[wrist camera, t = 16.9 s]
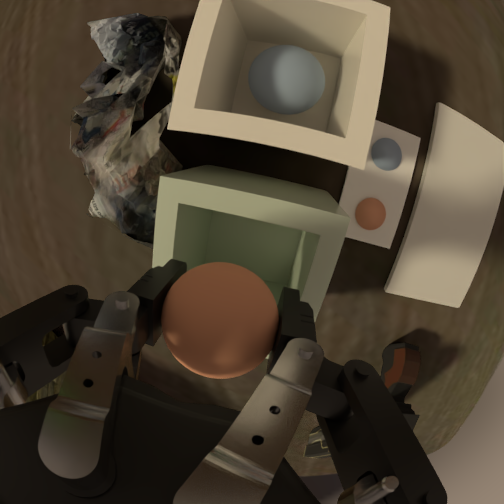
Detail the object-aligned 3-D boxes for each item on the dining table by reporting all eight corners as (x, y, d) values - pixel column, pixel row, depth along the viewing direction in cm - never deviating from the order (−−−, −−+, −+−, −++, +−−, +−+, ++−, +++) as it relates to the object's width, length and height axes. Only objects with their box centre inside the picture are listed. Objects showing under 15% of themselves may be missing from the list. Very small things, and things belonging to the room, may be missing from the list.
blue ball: (259, 53, 15) (253, 27, 11) (324, 67, 15) (337, 44, 11) (245, 111, 17) (235, 99, 13) (312, 126, 17) (323, 117, 13)
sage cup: (207, 164, 19) (160, 175, 12) (326, 190, 19) (350, 217, 12) (192, 271, 23) (151, 327, 15) (296, 296, 22) (297, 364, 15)
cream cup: (237, 29, 15) (209, -24, 8) (355, 53, 15) (390, 7, 7) (213, 135, 18) (167, 129, 11) (333, 161, 18) (363, 170, 11)
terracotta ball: (189, 234, 12) (139, 282, 8) (292, 259, 12) (293, 322, 7) (181, 318, 14) (144, 380, 9) (268, 340, 13) (258, 413, 9)
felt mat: (436, 102, 15) (439, 102, 14) (506, 147, 15) (510, 148, 14) (383, 288, 21) (385, 292, 20) (456, 304, 21) (459, 308, 20)
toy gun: (319, 379, 34) (301, 456, 27) (404, 333, 21) (392, 461, 14) (333, 382, 34) (317, 458, 27) (422, 339, 21) (413, 460, 14)
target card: (359, 115, 17) (361, 114, 16) (419, 138, 16) (421, 138, 16) (330, 232, 20) (331, 234, 19) (388, 247, 20) (390, 249, 19)
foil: (254, 11, 12) (116, 221, 9) (238, 105, 23) (166, 258, 20) (110, -1, 11) (-24, 159, 9) (132, 79, 22) (54, 209, 19)
